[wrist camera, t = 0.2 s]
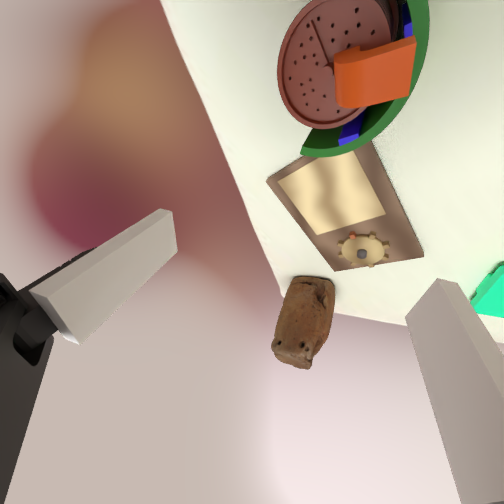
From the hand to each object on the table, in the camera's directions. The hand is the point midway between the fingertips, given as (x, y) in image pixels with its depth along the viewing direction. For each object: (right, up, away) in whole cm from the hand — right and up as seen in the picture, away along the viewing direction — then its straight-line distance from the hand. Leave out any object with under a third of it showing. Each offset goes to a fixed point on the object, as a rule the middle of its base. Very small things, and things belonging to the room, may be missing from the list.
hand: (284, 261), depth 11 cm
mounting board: (+14, +7, +27) cm, 31 cm away
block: (+14, -8, +45) cm, 48 cm away
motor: (+9, +23, +11) cm, 27 cm away
